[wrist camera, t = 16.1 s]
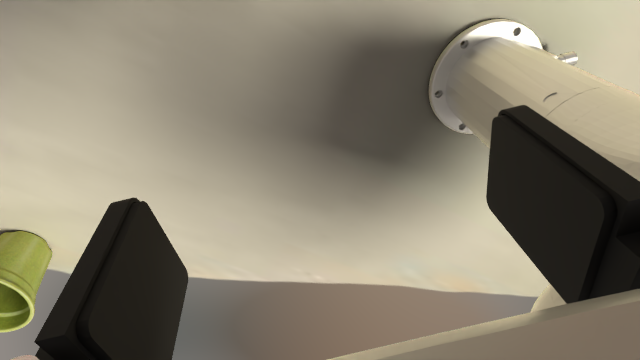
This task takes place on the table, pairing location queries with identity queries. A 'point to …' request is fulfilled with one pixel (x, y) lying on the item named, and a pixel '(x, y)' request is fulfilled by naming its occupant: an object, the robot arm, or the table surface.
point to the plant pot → (20, 277)
